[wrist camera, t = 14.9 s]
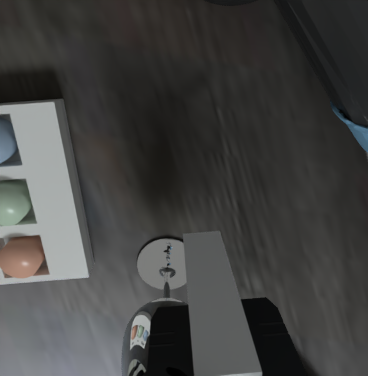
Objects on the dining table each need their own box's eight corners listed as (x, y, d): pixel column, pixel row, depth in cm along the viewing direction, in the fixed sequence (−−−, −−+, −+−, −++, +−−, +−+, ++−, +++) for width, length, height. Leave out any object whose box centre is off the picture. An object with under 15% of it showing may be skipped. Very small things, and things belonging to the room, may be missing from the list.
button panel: (-73, 108, 34) (-96, 112, 31) (63, 98, 35) (53, 101, 32) (-19, 271, 42) (-33, 288, 39) (94, 262, 42) (88, 278, 39)
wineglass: (150, 227, 40) (133, 370, 22) (207, 249, 42) (239, 401, 23) (126, 277, 43) (94, 445, 24) (182, 296, 44) (192, 469, 25)
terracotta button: (5, 233, 39) (-7, 245, 36) (43, 230, 39) (33, 242, 36) (14, 265, 40) (3, 279, 38) (51, 262, 40) (42, 276, 38)
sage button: (-11, 179, 36) (-25, 188, 34) (30, 176, 36) (19, 185, 34) (-1, 216, 38) (-13, 227, 35) (38, 213, 38) (29, 224, 35)
